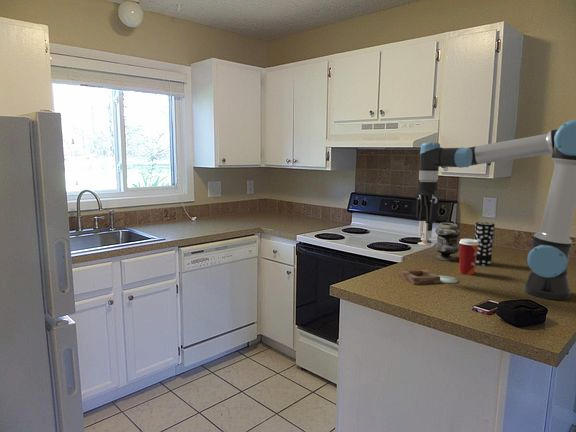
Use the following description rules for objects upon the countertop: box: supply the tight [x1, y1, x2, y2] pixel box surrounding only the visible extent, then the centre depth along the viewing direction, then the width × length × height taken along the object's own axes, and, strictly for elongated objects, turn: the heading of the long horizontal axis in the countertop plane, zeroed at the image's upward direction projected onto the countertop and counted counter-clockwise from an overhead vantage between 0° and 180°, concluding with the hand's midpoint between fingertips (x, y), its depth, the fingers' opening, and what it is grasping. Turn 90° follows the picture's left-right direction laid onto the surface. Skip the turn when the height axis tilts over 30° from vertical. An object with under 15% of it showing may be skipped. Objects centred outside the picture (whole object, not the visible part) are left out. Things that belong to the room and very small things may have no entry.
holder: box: [399, 268, 441, 285], centre depth 176 cm, size 12×12×2 cm
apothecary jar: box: [433, 222, 461, 262], centre depth 211 cm, size 12×12×18 cm
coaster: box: [438, 275, 459, 284], centre depth 176 cm, size 9×9×1 cm
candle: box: [417, 220, 432, 247], centre depth 173 cm, size 5×5×10 cm
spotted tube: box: [473, 221, 496, 267], centre depth 202 cm, size 8×8×20 cm
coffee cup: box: [458, 238, 479, 275], centre depth 186 cm, size 8×8×15 cm
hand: (424, 237), depth 173 cm, fingers closed on candle, 4 cm apart
